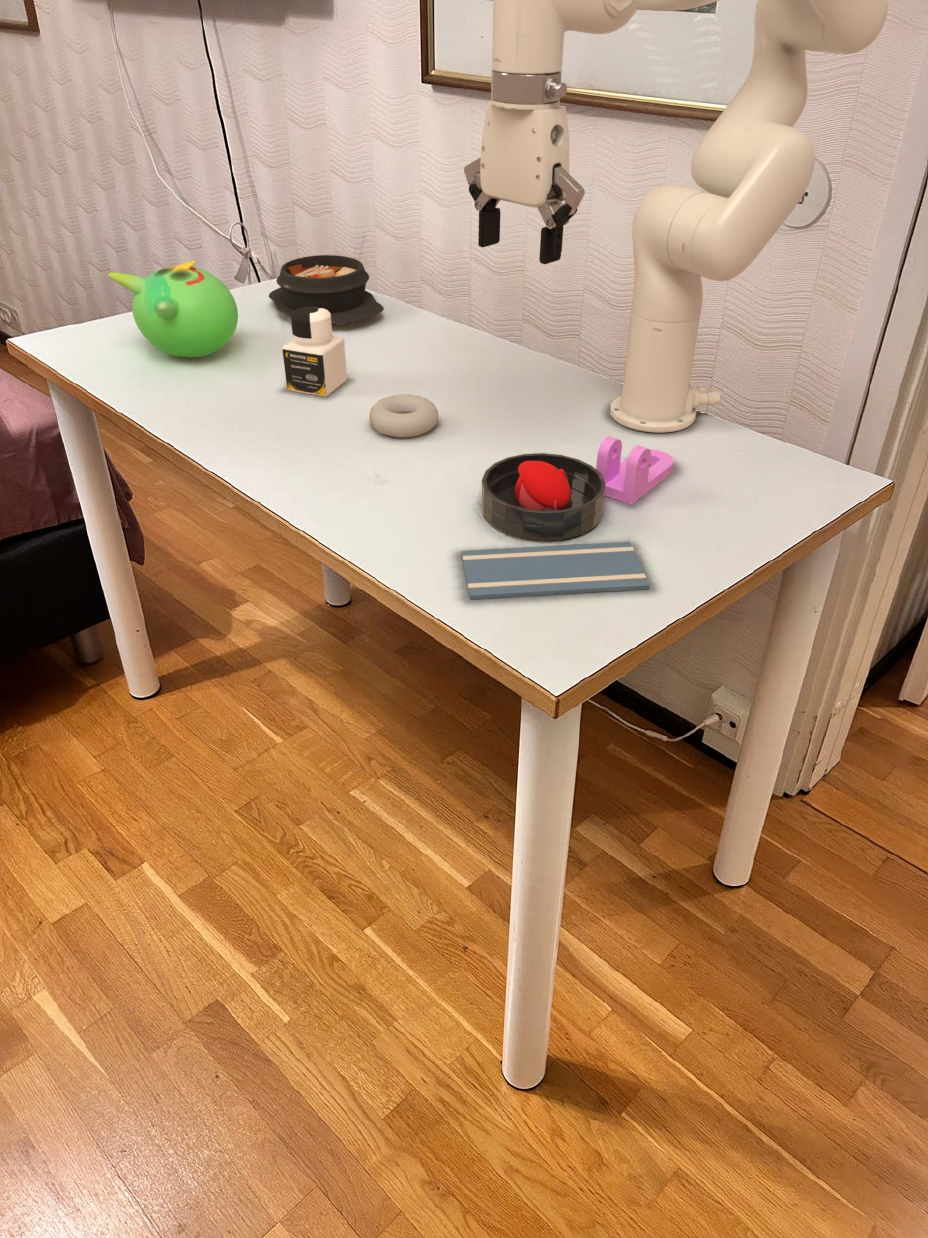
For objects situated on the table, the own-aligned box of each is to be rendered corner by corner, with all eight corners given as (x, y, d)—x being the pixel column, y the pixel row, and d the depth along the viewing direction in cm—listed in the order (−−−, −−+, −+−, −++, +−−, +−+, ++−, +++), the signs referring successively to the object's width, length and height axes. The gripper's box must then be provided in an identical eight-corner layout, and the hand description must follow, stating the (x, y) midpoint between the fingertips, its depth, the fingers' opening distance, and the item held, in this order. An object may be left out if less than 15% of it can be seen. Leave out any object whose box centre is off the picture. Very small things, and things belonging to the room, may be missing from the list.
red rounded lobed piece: (582, 510, 117) (585, 467, 113) (551, 528, 113) (554, 484, 110) (533, 488, 121) (535, 446, 117) (502, 505, 118) (503, 462, 114)
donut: (362, 439, 134) (430, 444, 132) (359, 416, 132) (429, 421, 130) (380, 409, 141) (445, 414, 140) (379, 388, 139) (444, 392, 138)
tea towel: (629, 545, 111) (629, 540, 110) (648, 589, 104) (649, 584, 103) (461, 554, 109) (461, 549, 109) (469, 599, 102) (469, 594, 102)
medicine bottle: (286, 390, 147) (277, 314, 140) (309, 374, 152) (301, 299, 145) (326, 397, 145) (319, 320, 137) (348, 380, 150) (342, 305, 143)
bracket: (631, 504, 119) (637, 455, 114) (593, 491, 121) (598, 442, 117) (679, 466, 127) (686, 418, 123) (643, 454, 129) (649, 407, 125)
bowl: (588, 479, 124) (591, 450, 121) (614, 539, 112) (617, 509, 109) (475, 484, 123) (476, 455, 120) (489, 546, 111) (490, 515, 108)
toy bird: (262, 352, 160) (250, 263, 151) (179, 381, 150) (161, 288, 141) (199, 327, 169) (184, 243, 160) (116, 353, 159) (96, 265, 150)
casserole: (246, 307, 178) (240, 262, 173) (324, 285, 188) (320, 242, 183) (327, 341, 163) (323, 293, 158) (407, 316, 174) (405, 269, 169)
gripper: (610, 95, 99) (595, 261, 109) (490, 78, 108) (487, 233, 119) (566, 102, 95) (554, 275, 105) (445, 84, 104) (445, 244, 114)
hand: (518, 252), depth 112 cm, fingers open, 9 cm apart
